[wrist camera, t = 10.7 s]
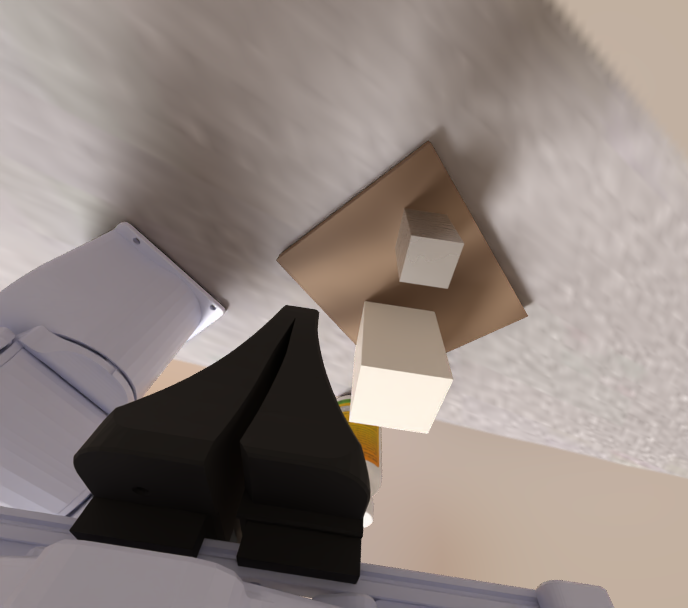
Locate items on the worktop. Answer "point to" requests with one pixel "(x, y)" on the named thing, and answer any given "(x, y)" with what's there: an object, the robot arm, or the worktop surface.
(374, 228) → the board
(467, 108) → the worktop surface
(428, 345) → the cream rectangular block
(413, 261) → the post
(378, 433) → the supplement bottle
